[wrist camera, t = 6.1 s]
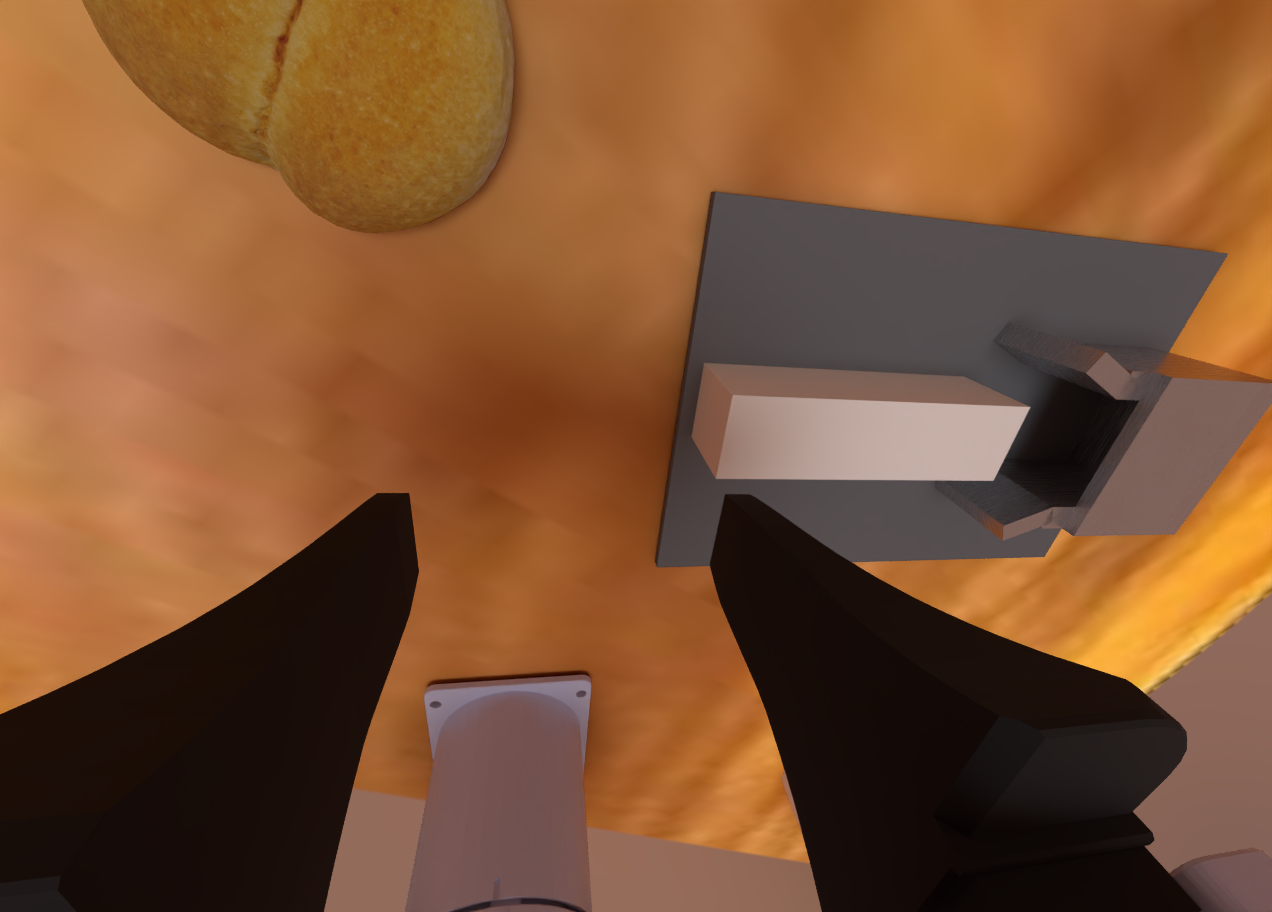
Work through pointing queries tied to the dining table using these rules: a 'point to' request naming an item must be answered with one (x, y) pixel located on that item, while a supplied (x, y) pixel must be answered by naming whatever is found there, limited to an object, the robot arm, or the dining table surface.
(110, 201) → the dining table surface
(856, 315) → the mat
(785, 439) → the pale grey rectangular bar
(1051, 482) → the end cap
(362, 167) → the bread roll
